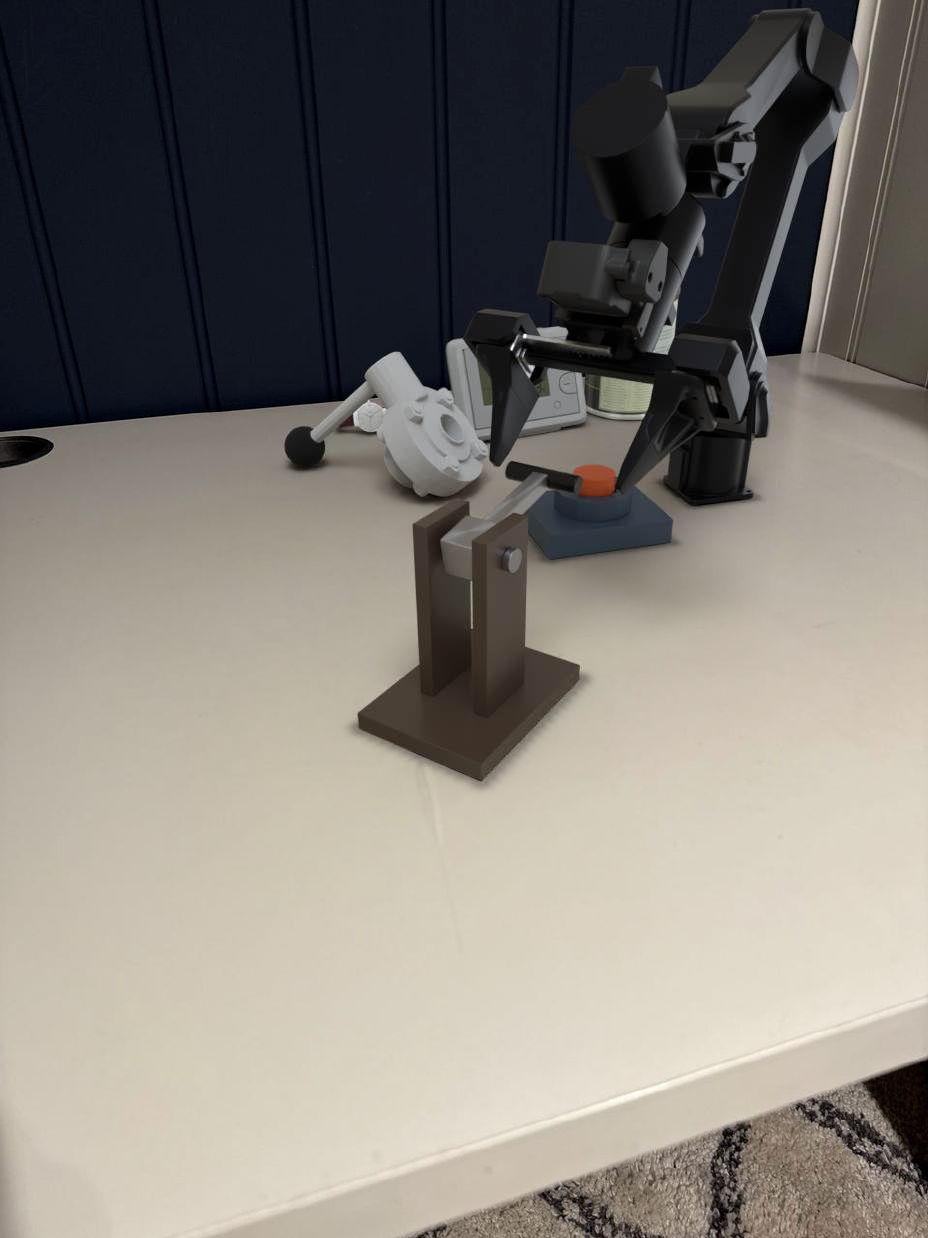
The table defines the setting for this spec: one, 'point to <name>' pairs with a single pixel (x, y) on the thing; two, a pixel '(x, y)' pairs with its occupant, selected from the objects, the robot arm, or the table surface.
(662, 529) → the button housing
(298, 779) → the table surface
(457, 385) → the digital clock
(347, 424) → the watch
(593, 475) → the button
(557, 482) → the tap lever
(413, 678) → the bracket
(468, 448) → the mechanical valve
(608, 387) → the coffee can
